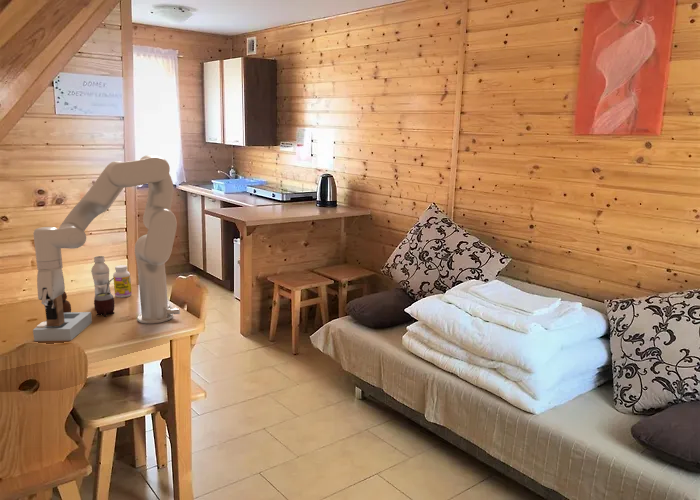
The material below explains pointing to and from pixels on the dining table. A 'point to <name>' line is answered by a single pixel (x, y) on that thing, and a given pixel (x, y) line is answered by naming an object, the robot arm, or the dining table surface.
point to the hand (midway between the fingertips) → (55, 316)
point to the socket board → (63, 327)
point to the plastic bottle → (100, 275)
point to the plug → (59, 311)
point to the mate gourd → (104, 302)
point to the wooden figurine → (66, 303)
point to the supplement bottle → (122, 281)
